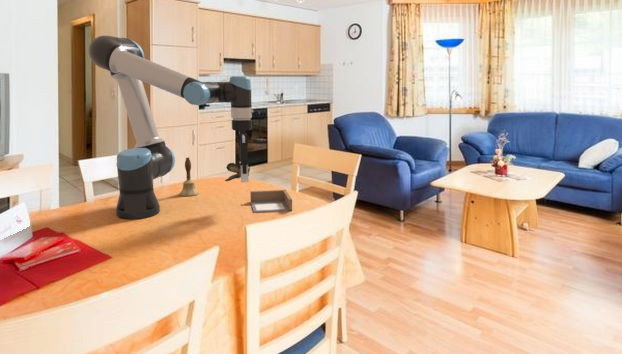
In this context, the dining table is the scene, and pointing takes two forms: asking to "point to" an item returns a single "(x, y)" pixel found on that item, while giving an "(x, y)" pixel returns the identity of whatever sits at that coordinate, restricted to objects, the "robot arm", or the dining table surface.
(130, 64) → the robot arm
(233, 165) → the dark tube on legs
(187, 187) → the hand bell
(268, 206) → the tray
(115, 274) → the dining table surface
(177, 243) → the dining table surface
